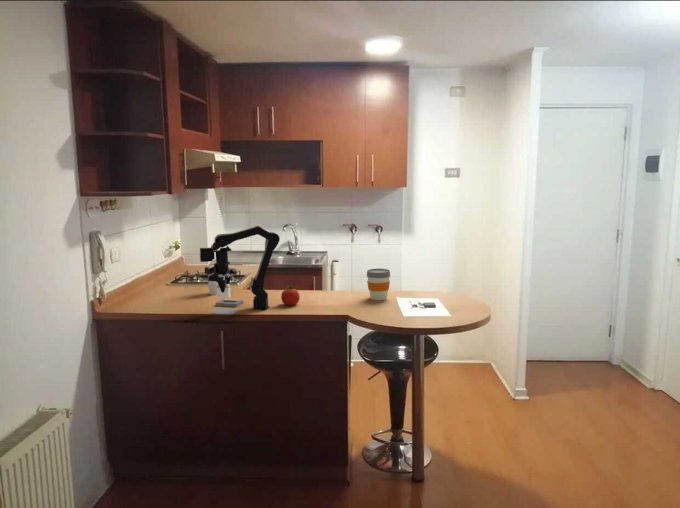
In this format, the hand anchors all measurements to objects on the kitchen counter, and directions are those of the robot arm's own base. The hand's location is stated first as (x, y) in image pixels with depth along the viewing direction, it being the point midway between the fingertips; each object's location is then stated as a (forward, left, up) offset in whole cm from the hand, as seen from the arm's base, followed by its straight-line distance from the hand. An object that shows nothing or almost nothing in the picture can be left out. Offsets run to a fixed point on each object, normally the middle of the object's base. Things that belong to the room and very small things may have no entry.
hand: (224, 291), depth 246 cm
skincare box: (+23, -36, -11) cm, 44 cm away
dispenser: (+4, -13, -10) cm, 17 cm away
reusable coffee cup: (-69, -42, -11) cm, 81 cm away
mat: (0, 0, -10) cm, 10 cm away
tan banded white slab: (0, 0, -3) cm, 3 cm away
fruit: (-27, -20, -11) cm, 35 cm away
